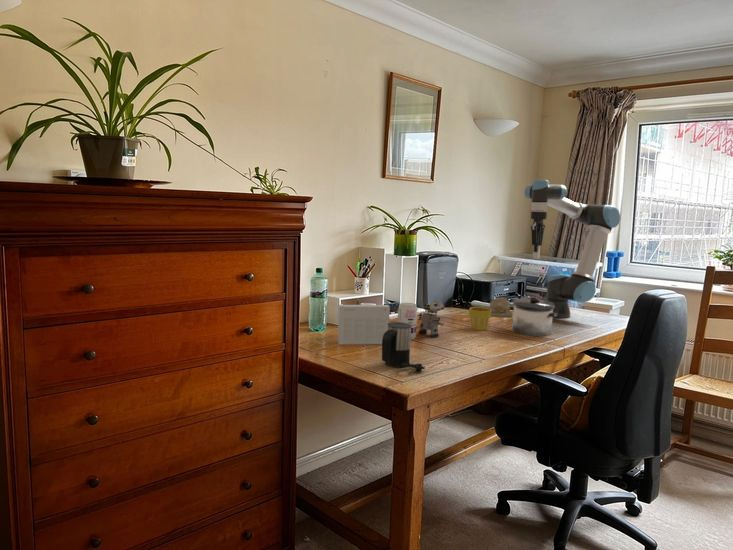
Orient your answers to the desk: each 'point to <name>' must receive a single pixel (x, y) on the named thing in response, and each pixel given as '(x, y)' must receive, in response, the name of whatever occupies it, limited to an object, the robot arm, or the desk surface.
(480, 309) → the plant pot
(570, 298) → the robot arm
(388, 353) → the milk frother
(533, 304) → the lid
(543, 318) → the cooker pot
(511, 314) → the ceramic model
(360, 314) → the skincare box
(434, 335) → the figurine
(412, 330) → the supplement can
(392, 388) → the desk surface
